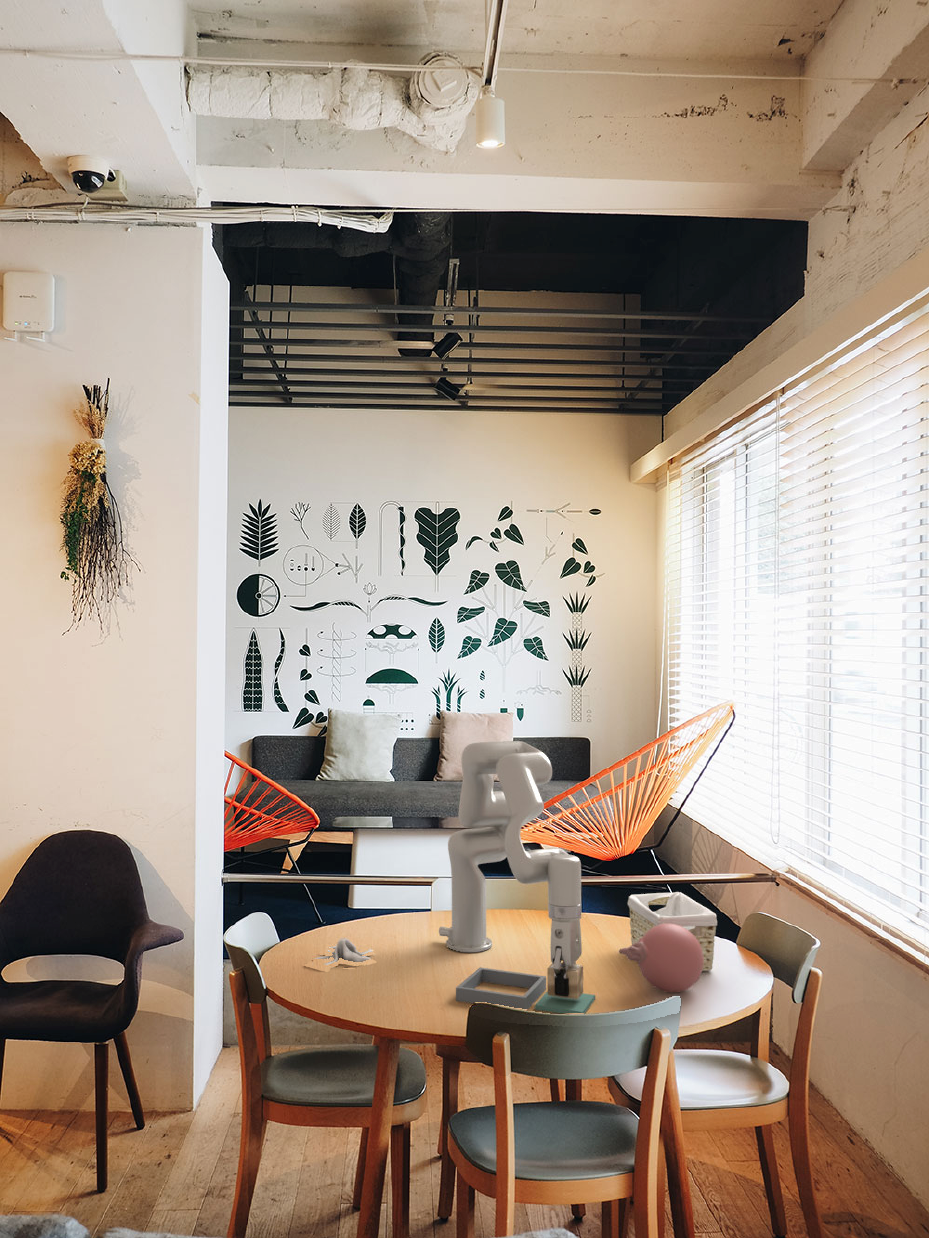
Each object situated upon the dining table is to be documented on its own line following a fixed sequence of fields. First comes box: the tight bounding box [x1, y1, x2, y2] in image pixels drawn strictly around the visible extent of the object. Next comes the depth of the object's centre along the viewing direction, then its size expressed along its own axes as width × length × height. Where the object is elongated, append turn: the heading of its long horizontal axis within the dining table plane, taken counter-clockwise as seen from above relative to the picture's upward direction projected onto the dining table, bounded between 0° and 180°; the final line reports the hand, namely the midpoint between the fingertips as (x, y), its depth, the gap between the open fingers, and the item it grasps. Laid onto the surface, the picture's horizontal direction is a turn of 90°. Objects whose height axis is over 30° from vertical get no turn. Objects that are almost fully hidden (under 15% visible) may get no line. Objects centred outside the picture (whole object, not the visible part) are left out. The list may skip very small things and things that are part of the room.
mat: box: [534, 990, 596, 1014], centre depth 209 cm, size 11×11×1 cm
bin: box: [455, 967, 547, 1010], centre depth 215 cm, size 17×15×3 cm
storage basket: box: [627, 891, 718, 972], centre depth 240 cm, size 24×16×15 cm
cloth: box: [312, 937, 374, 965], centre depth 240 cm, size 22×19×6 cm
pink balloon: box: [618, 924, 704, 993], centre depth 218 cm, size 15×20×15 cm
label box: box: [546, 961, 584, 999], centre depth 209 cm, size 5×7×6 cm
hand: (565, 990), depth 209 cm, fingers closed on label box, 5 cm apart
